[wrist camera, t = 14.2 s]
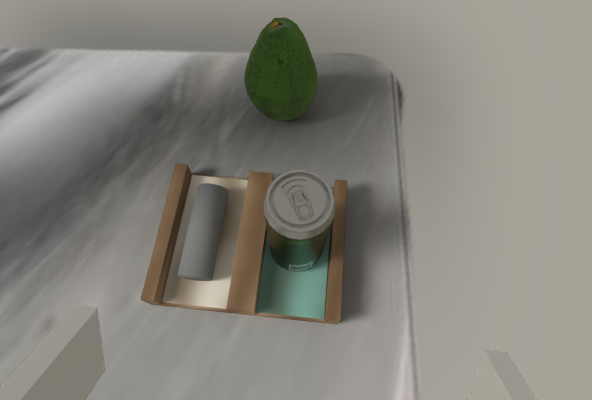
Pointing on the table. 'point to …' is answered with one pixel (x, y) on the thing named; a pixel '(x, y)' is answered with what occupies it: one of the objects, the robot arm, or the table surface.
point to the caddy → (244, 257)
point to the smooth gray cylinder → (203, 233)
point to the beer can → (298, 218)
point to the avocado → (281, 71)
